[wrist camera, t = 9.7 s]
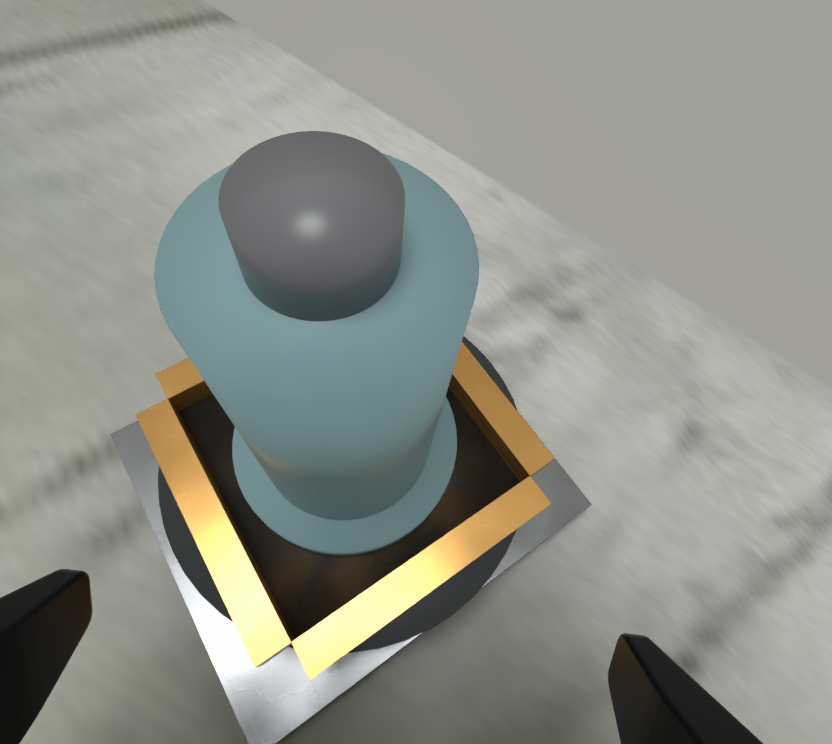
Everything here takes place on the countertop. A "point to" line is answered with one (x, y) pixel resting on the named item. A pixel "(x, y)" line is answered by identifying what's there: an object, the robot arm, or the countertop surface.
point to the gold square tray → (327, 576)
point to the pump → (326, 332)
